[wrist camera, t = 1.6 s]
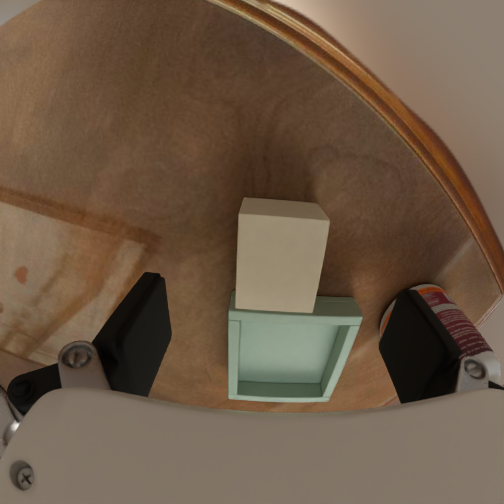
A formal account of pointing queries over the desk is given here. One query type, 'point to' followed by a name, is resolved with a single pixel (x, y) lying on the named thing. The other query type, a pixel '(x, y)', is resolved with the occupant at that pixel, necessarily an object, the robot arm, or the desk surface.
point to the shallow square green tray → (290, 350)
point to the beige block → (279, 254)
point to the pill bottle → (455, 327)
